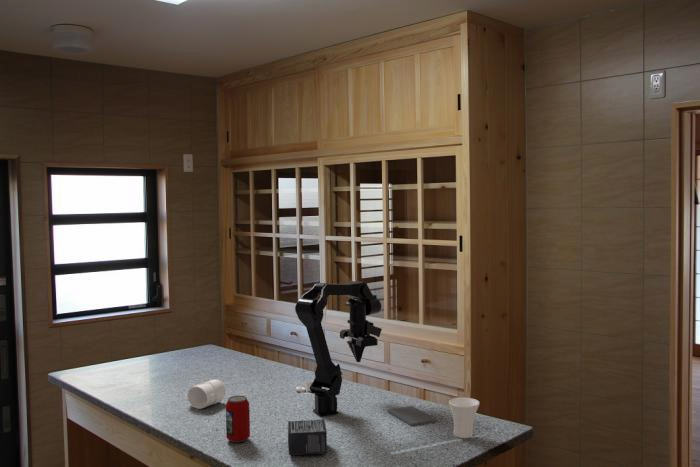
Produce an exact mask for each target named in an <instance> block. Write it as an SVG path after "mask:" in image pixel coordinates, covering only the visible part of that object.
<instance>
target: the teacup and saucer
mask: <svg viewBox="0 0 700 467" xmlns="http://www.w3.org/2000/svg"><path fill="white" fill-rule="evenodd" d="M313 381H314V379H308V380H307V379H306V380H305V387H303V386H296V388H295V391H296V392H298V393H300V394H304V395H313V394H314V393H311V391H310V386H311V384H312V383H313ZM309 391H310V392H309ZM306 392H307V393H306ZM314 395H315V394H314Z"/></svg>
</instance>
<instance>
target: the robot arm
mask: <svg viewBox="0 0 700 467" xmlns="http://www.w3.org/2000/svg"><path fill="white" fill-rule="evenodd" d="M318 296H320V298H318V299H316V298H317V297H318ZM330 296H344V297H348V300H347V301H346V302H345V306H348V308H349V311H348V312H349V319H347V324H348V325H349V328H347V329H341V330H340V332H339V338H340V339H343V340H344V339H345V338H348V340H347V341H346V343H347V345H348V347H349V350H350V351H351V353H352V355H353V357H354V359H355V361H356V363H361V361H362V358H363V354H364V351H365V349H366V347H375V346H378V345H379V344H378V338H380V336H381V333H382V330H383V328H381V327H378V326H376V325H374V323H373V322H372V321H369V320H367V316H370V315H375V314H379V313H380V312H381V311H382V310H381V309H382V303H381V301H380V299H379V298H377V297H378V295H376V294H373V293H372V291H371V289H370V287H369V285H368V282H365V281H357V280H350V281H346V282H344V283H328V282H327V283H325V282H316V283H315V284H314V285H313V286H312V287H311V288H310V289H309V290H307V291H306V292H304V293H303V294H302V295H301V296H300V298H299V300H297V301H296V303H295V306H294V310H295V313H296V315H297V318H298V320H299V321H300V323H301V324H302V325H304V326H305V328H306V331H307V336H308V339H309V341H310V345H311V349H312V351H313V352H312V353H313V356H314V359H315V363H316V368H315V371H314V379H313V380H314V381H313V383H312V384H311V386H310V391H311V392H310V393H314V408H313V409H312V411H313V412H314V413H315V414H316V415H318V416H319V417H325V416H331V415H336V414H339V411H338V398H337V396H339V395H340V394H341V388H342V383H343V376H342V375H343V373H342V370H341V365H340V364H339V363H336V362H333V360H332V358H331V355H330V354H331V353H330V350H329V346H328V343H327V340H326V339H327V338H326V336H325V335H326V334H325V332H324V328H323V325H322V321H323V319H324V309H325V308H326V306H327V305H328V298H329V297H330Z"/></svg>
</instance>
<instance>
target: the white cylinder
mask: <svg viewBox="0 0 700 467" xmlns="http://www.w3.org/2000/svg"><path fill="white" fill-rule="evenodd" d="M224 385H225V384H223V382H222V381H221V380H219V379H211V380H208V381H205V382H201V383H198V384H195V385H193V386H192V387H189V389H188V391H187V400H188V402H189V404H190V406H192V407H193V408H195V409H198V410H199V409H200V410H201V409H204V408H206V407H209V406H214V405H216V404H218V403H221V402H223V401H224V400H225V397H226V388H225V386H224Z"/></svg>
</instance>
